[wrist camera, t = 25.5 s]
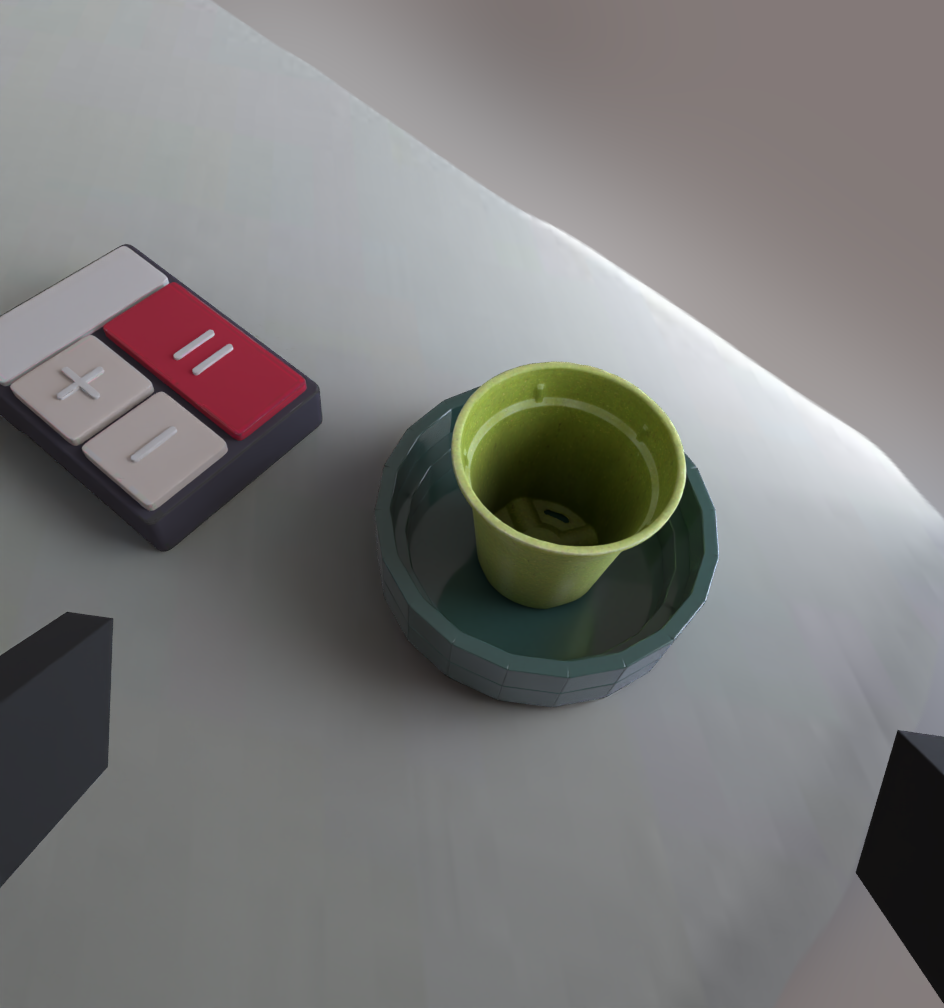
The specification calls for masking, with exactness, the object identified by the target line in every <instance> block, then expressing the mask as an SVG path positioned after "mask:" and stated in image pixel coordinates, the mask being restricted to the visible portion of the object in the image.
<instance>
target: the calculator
mask: <svg viewBox="0 0 944 1008" xmlns="http://www.w3.org/2000/svg"><path fill="white" fill-rule="evenodd" d="M0 414H1V415H2V416H3V417H4V418H6V419H7V420H8V421H9V422H10V423H11V424H12V425H14V426H15V427H16V428H17V429H18V430H20V431H22V432H24V433H26V434H27V435H28V436H29V437H30V438H31V439H33V440H34V441H35V442H36V443H37V444H38V445H39V446H41V447H42V448H43V449H44V450H45V451H46V452H47V453H48V454H50V455H51V456H52V457H53V458H54V459H55V460H56V461H58V462H59V463H60V464H61V465H62V466H63V467H64V468H66V469H67V470H68V471H69V472H70V473H71V474H72V475H74V476H75V477H76V478H77V479H78V480H79V481H80V482H82V483H83V484H84V485H85V486H86V487H87V488H88V489H89V490H91V491H92V492H93V493H94V494H95V495H96V496H97V497H99V498H100V499H101V500H102V501H103V502H104V503H105V504H107V505H108V506H109V507H110V508H111V509H112V510H113V511H115V512H116V513H117V514H118V515H119V516H120V517H121V518H123V519H124V520H125V521H126V522H127V523H128V524H129V525H130V526H132V527H133V528H134V529H135V530H136V531H137V532H138V533H140V534H141V535H142V536H143V537H144V538H145V539H146V540H148V541H149V542H150V543H151V544H152V545H153V546H154V547H156V548H157V549H158V550H160V551H168V550H170V549H172V548H173V547H174V546H175V545H177V544H178V543H179V542H180V541H181V540H183V539H184V538H185V537H186V536H187V535H189V534H190V533H191V532H192V531H193V530H195V529H196V528H197V527H198V526H199V525H201V524H202V523H203V522H204V521H205V520H207V519H208V518H209V517H210V516H211V515H213V514H214V513H215V512H216V511H217V510H219V509H220V508H221V507H222V506H223V505H225V504H226V503H227V502H228V501H229V500H231V499H232V498H233V497H234V496H235V495H237V494H238V493H239V492H240V491H241V490H243V489H244V488H245V487H246V486H247V485H249V484H250V483H251V482H252V481H253V480H255V479H256V478H257V477H258V476H259V475H261V474H262V473H263V472H264V471H265V470H267V469H268V468H269V467H270V466H271V465H273V464H274V463H275V462H276V461H277V460H279V459H280V458H281V457H282V456H283V455H285V454H286V453H287V452H288V451H289V450H290V449H292V448H293V447H294V446H295V445H296V444H298V443H299V442H300V441H301V440H302V439H304V438H305V437H306V436H307V435H308V434H310V433H311V432H312V431H313V430H314V429H316V428H317V427H318V426H319V425H320V424H321V422H322V412H321V400H320V390H319V386H318V385H317V384H316V383H315V382H314V381H312V380H311V379H310V378H308V377H307V376H306V375H304V374H303V373H302V372H300V371H299V370H298V369H296V368H295V367H294V366H292V365H291V364H290V363H288V362H287V361H286V360H284V359H283V358H282V357H280V356H279V355H278V354H276V353H275V352H274V351H272V350H271V349H270V348H268V347H267V346H266V345H264V344H263V343H262V342H260V341H259V340H258V339H256V338H255V337H254V336H252V335H251V334H250V333H248V332H247V331H246V330H244V329H243V328H242V327H240V326H239V325H238V324H236V323H235V322H234V321H232V320H231V319H230V318H228V317H227V316H226V315H224V314H223V313H221V312H220V311H219V310H217V309H216V308H215V307H213V306H212V305H211V304H209V303H208V302H207V301H205V300H204V299H203V298H201V297H200V296H199V295H197V294H196V293H195V292H193V291H192V290H191V289H189V288H188V287H187V286H185V285H184V284H183V283H181V282H180V281H179V280H177V279H176V278H175V277H173V276H172V275H171V274H169V273H168V272H167V271H165V270H164V269H163V268H161V267H160V266H159V265H157V264H156V263H155V262H153V261H152V260H151V259H149V258H148V257H147V256H145V255H144V254H143V253H141V252H140V251H139V250H137V249H136V248H135V247H133V246H131V245H128V244H125V245H122V246H120V247H118V248H116V249H114V250H113V251H111V252H109V253H107V254H106V255H104V256H102V257H101V258H99V259H97V260H95V261H94V262H92V263H90V264H89V265H87V266H85V267H83V268H82V269H80V270H78V271H77V272H75V273H73V274H71V275H70V276H68V277H66V278H65V279H63V280H61V281H59V282H58V283H56V284H54V285H53V286H51V287H49V288H47V289H46V290H44V291H42V292H41V293H39V294H37V295H35V296H34V297H32V298H30V299H29V300H27V301H25V302H23V303H22V304H20V305H18V306H16V307H15V308H13V309H11V310H10V311H8V312H6V313H4V314H3V315H1V316H0Z"/></svg>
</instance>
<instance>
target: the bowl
mask: <svg viewBox="0 0 944 1008" xmlns="http://www.w3.org/2000/svg"><path fill="white" fill-rule="evenodd" d="M478 388H479V387H477V388H474V389H472V390H469V391H467V392H464V393H462V394H459V395H456V396H454V397H451V398H449V399H446V400H444V401H442V402H441V403H440V404H438V405H437V406H436V407H435V408H433V409H432V410H431V411H430V412H428V413H427V414H426V415H424V416H423V417H422V418H421V419H419V420H418V421H417V422H416V423H414V424H413V425H412V426H410V427H409V429H407V430H406V432H405V434H404V435H403V437H402V438H401V440H400V441H399V443H398V444H397V446H396V448H395V449H394V451H393V452H392V454H391V455H390V457H389V458H388V460H387V462H386V463H385V465H384V468H383V472H382V477H381V481H380V486H379V491H378V496H377V500H376V505H375V511H374V514H375V530H376V545H377V556H378V562H379V568H380V575H381V581H382V587H383V594H384V597H385V600H386V602H387V603H388V605H389V607H390V609H391V611H392V612H393V614H394V616H395V618H396V620H397V622H398V623H399V625H400V627H401V629H402V631H403V632H404V634H405V636H406V638H407V640H409V642H410V643H411V644H413V645H414V646H415V647H416V648H417V649H418V650H419V651H420V652H421V653H422V654H423V655H424V656H426V657H427V658H428V659H429V660H430V661H431V662H432V663H433V664H434V665H435V666H436V667H438V668H439V669H440V670H441V671H442V672H443V673H444V674H445V675H448V677H449V678H452V679H454V680H456V681H458V682H460V683H462V684H464V685H467V686H469V687H471V688H473V689H475V690H477V691H479V692H482V693H484V694H486V695H488V696H490V697H492V698H494V699H498V700H501V701H508V702H516V703H524V704H531V705H539V706H546V707H552V706H553V707H557V706H562V705H568V704H573V703H578V702H584V701H589V700H594V699H600V698H604V697H607V696H609V695H610V694H612V693H614V692H616V691H617V690H619V689H621V688H622V687H624V686H626V685H628V684H629V683H631V682H633V681H635V680H636V679H638V678H640V677H642V676H643V675H645V674H647V673H648V672H650V670H651V669H652V668H653V667H654V665H655V664H656V663H657V662H658V660H659V659H660V658H661V657H662V656H663V654H664V653H665V652H666V651H667V649H668V648H669V647H670V646H671V645H672V643H673V642H674V641H675V640H676V638H677V637H678V636H679V635H680V633H681V632H682V631H683V630H684V628H685V627H686V626H687V625H688V624H689V622H690V621H691V620H692V619H693V617H694V616H695V615H696V614H697V612H698V611H699V610H700V609H701V607H702V606H703V605H704V604H705V602H706V599H707V596H708V592H709V589H710V586H711V583H712V579H713V576H714V573H715V570H716V566H717V563H718V560H719V548H718V535H717V521H716V511H715V507H714V505H713V503H712V500H711V498H710V496H709V493H708V491H707V489H706V487H705V484H704V482H703V480H702V477H701V475H700V473H699V470H698V468H696V465H695V464H694V463H693V462H692V461H691V460H690V458H689V457H688V456H687V455H686V454H685V452H684V455H685V462H686V481H685V486H684V490H683V494H682V497H681V499H680V501H679V504H678V506H677V507H676V509H675V511H674V512H673V514H672V515H671V517H670V518H669V519H668V521H667V522H666V523H665V524H664V525H663V526H662V527H661V528H660V529H659V530H658V531H657V532H656V533H655V534H654V535H653V536H651V537H650V538H648V539H647V540H645V541H644V542H642V543H640V544H638V545H636V546H634V547H632V548H630V549H627V550H624V551H621V552H620V554H619V555H618V556H617V557H616V558H615V559H614V561H613V562H612V563H611V564H610V565H609V566H608V568H607V569H606V570H605V571H604V572H603V574H602V575H601V576H600V577H599V578H598V580H597V581H596V582H595V583H594V584H593V585H592V587H591V588H590V589H589V590H588V591H587V592H586V593H585V594H584V595H583V596H582V597H580V598H579V599H577V600H575V601H572V602H569V603H566V604H563V605H559V606H556V607H552V608H548V609H540V608H532V607H527V606H524V605H521V604H518V603H516V602H513V601H512V600H510V599H508V598H506V597H505V596H503V595H502V594H500V593H499V592H498V591H497V590H496V589H495V588H494V587H493V586H492V585H491V584H490V583H489V581H488V580H487V578H486V576H485V574H484V572H483V570H482V568H481V565H480V563H479V560H478V555H477V547H476V537H475V527H474V519H473V510H472V507H471V506H470V504H469V503H468V501H467V500H466V498H465V497H464V495H463V493H462V491H461V490H460V487H459V485H458V483H457V480H456V477H455V474H454V470H453V464H452V456H451V444H452V435H453V430H454V426H455V423H456V420H457V418H458V415H459V413H460V411H461V410H462V408H463V406H464V404H465V403H466V402H467V400H468V399H469V398H470V396H471V395H472V394H473V393H474V392H475V391H476V390H477V389H478ZM544 513H545V514H546V515H550V516H552V517H554V518H557V519H559V520H560V521H563V522H564V523H569V519H568V518H567V517H566V516H564V515H562V514H560V513H556V512H554V511H551V510H546V511H544Z"/></svg>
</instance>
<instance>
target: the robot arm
mask: <svg viewBox="0 0 944 1008" xmlns="http://www.w3.org/2000/svg"><path fill="white" fill-rule="evenodd" d="M112 635H113V618H106V617H99V616H92V615H85V614H78V613H71V612H66V613H65V614H63V615H62V616H60V617H59V618H57V619H56V620H54V621H52V622H51V623H49V624H48V625H46V626H45V627H43V628H42V629H40V630H39V631H37V632H36V633H34V634H33V635H31V636H30V637H28V638H27V639H25V640H23V641H22V642H20V643H19V644H17V645H16V646H14V647H13V648H11V649H10V650H8V651H7V652H5V653H4V654H2V655H1V656H0V887H1V886H2V885H3V884H4V883H5V882H6V880H7V879H8V878H9V877H10V876H11V875H12V874H13V873H14V871H15V870H16V869H17V868H18V867H19V866H20V865H21V864H22V862H23V861H24V860H25V859H26V858H27V857H28V856H29V855H30V853H31V852H32V851H33V850H34V849H35V848H36V847H37V846H38V844H39V843H40V842H41V841H42V840H43V839H44V838H45V837H46V835H47V834H48V833H49V832H50V831H51V830H52V829H53V828H54V826H55V825H56V824H57V823H58V822H59V821H60V820H61V819H62V817H63V816H64V815H65V814H66V813H67V812H68V811H69V810H70V808H71V807H72V806H73V805H74V804H75V803H76V802H77V801H78V799H79V798H80V797H81V796H82V795H83V794H84V793H85V792H86V790H87V789H88V788H89V787H90V786H91V785H92V784H93V783H94V781H95V780H96V779H97V778H98V777H99V776H100V775H101V774H102V772H103V771H104V770H105V769H106V768H107V767H108V746H109V718H110V690H111V663H112ZM856 874H857V875H858V877H859V878H860V880H861V881H862V882H863V884H864V886H865V887H866V889H867V890H868V892H869V893H870V895H871V896H872V898H873V899H874V901H875V902H876V903H877V905H878V906H879V908H880V909H881V911H882V912H883V914H884V915H885V917H886V918H887V920H888V921H889V923H890V924H891V926H892V927H893V929H894V930H895V932H896V933H897V935H898V936H899V938H900V939H901V941H902V942H903V943H904V945H905V947H906V948H907V950H908V951H909V953H910V954H911V956H912V957H913V959H914V960H915V962H916V963H917V964H918V966H919V968H920V969H921V971H922V972H923V974H924V975H925V976H926V978H927V979H928V981H929V982H930V984H931V985H932V987H933V988H934V990H935V991H936V993H937V994H938V996H939V997H940V999H941V1000H942V1002H943V1003H944V737H942V736H934V735H927V734H920V733H914V732H907V731H900V730H898V731H897V734H896V737H895V741H894V744H893V748H892V751H891V754H890V758H889V761H888V765H887V768H886V771H885V775H884V778H883V782H882V785H881V788H880V792H879V795H878V799H877V802H876V805H875V809H874V812H873V816H872V819H871V822H870V826H869V829H868V833H867V836H866V839H865V843H864V846H863V850H862V853H861V856H860V860H859V863H858V867H857V870H856Z"/></svg>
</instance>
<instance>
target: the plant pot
mask: <svg viewBox="0 0 944 1008" xmlns="http://www.w3.org/2000/svg"><path fill="white" fill-rule="evenodd" d="M451 456H452V464H453V470H454V474H455V477H456V480H457V483H458V485H459V487H460V490H461V491H462V493H463V495H464V497H465V498H466V500H467V501H468V503H469V504H470V506H471V507H472V510H473V519H474V527H475V537H476V547H477V555H478V560H479V563H480V565H481V568H482V570H483V572H484V574H485V576H486V578H487V580H488V581H489V583H490V584H491V585H492V586H493V587H494V588H495V589H496V590H497V591H498V592H499V593H500V594H502V595H503V596H505V597H506V598H508V599H510V600H512V601H513V602H516V603H518V604H521V605H524V606H527V607H532V608H540V609H548V608H552V607H556V606H559V605H563V604H566V603H569V602H572V601H575V600H577V599H579V598H580V597H582V596H583V595H584V594H585V593H586V592H587V591H588V590H589V589H590V588H591V587H592V585H593V584H594V583H595V582H596V581H597V580H598V578H599V577H600V576H601V575H602V574H603V572H604V571H605V570H606V569H607V568H608V566H609V565H610V564H611V563H612V562H613V561H614V559H615V558H616V557H617V556H618V555H619V554H620V552H621V551H624V550H627V549H630V548H632V547H634V546H636V545H638V544H640V543H642V542H644V541H645V540H647V539H648V538H650V537H651V536H653V535H654V534H655V533H656V532H657V531H658V530H659V529H660V528H661V527H662V526H663V525H664V524H665V523H666V522H667V521H668V519H669V518H670V517H671V515H672V514H673V512H674V511H675V509H676V507H677V506H678V504H679V501H680V499H681V497H682V494H683V490H684V486H685V481H686V462H685V455H684V450H683V446H682V443H681V440H680V438H679V435H678V433H677V431H676V429H675V427H674V425H673V424H672V422H671V421H670V419H669V417H668V416H667V415H666V413H665V412H664V411H663V410H662V409H661V408H660V407H659V406H658V405H657V404H656V403H655V402H654V401H653V400H652V399H651V398H650V397H648V396H647V395H646V394H645V393H644V392H643V391H641V390H640V389H639V388H638V387H636V386H634V385H633V384H632V383H630V382H628V381H626V380H624V379H622V378H620V377H618V376H616V375H614V374H611V373H608V372H606V371H604V370H601V369H598V368H594V367H591V366H586V365H579V364H575V363H569V362H544V363H533V364H527V365H523V366H519V367H516V368H513V369H510V370H508V371H505V372H503V373H500V374H499V375H497V376H495V377H493V378H492V379H490V380H488V381H487V382H486V383H484V384H483V385H482V386H480V387H479V388H478V389H477V390H476V391H475V392H474V393H473V394H472V395H471V396H470V398H469V399H468V400H467V402H466V403H465V404H464V406H463V408H462V410H461V411H460V413H459V415H458V418H457V420H456V423H455V426H454V430H453V435H452V444H451ZM546 510H551V511H554V512H556V513H560V514H562V515H564V516H566V517H567V518H568V519H569V523H564V522H563V521H560V520H559V519H557V518H554V517H552V516H550V515H546V514H545V513H544V511H546Z"/></svg>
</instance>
